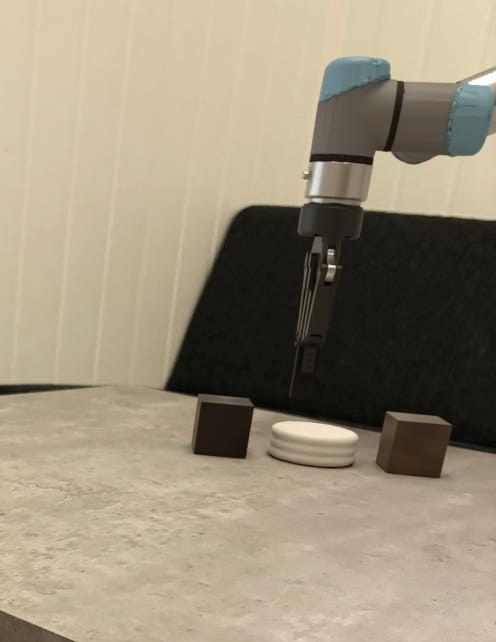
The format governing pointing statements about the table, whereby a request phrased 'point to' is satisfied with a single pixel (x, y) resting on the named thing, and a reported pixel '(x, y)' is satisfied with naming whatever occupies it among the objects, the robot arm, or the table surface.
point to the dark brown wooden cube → (413, 444)
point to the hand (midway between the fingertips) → (300, 398)
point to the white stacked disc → (312, 444)
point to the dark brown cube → (222, 426)
